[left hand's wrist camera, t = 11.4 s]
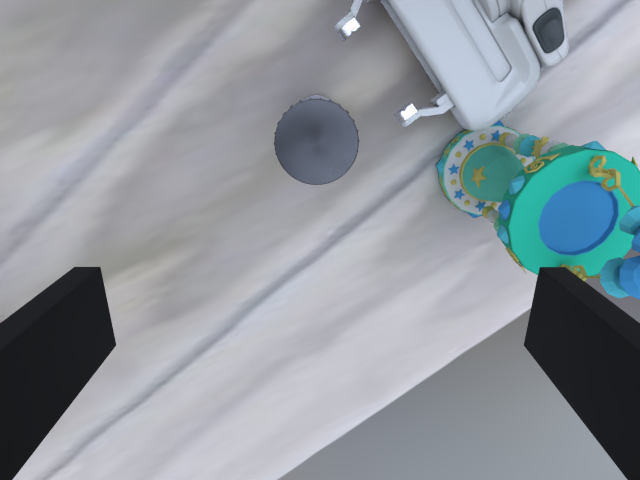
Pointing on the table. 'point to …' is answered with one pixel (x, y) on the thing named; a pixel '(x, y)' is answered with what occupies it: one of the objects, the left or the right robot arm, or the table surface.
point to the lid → (316, 141)
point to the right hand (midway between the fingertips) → (369, 78)
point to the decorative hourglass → (550, 202)
